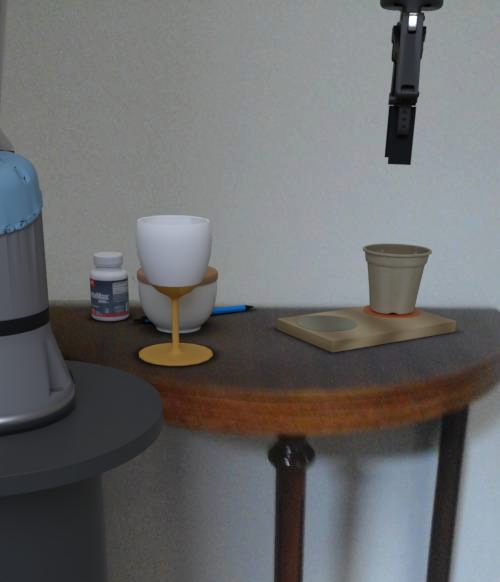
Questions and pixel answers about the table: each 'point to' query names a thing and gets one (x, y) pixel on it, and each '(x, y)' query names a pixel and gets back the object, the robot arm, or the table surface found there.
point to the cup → (174, 275)
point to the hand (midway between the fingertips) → (396, 161)
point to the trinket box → (179, 303)
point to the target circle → (391, 315)
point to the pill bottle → (109, 287)
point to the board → (361, 328)
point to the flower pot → (394, 276)
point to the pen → (215, 311)
